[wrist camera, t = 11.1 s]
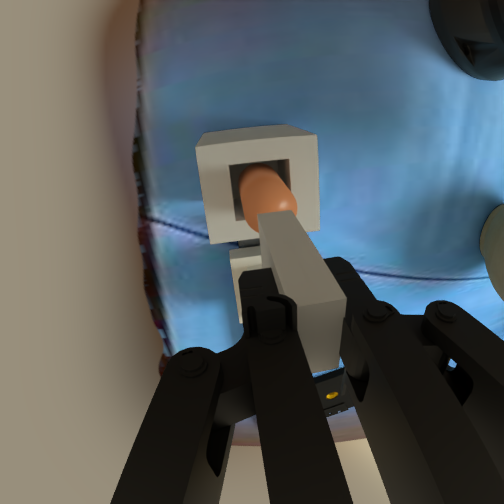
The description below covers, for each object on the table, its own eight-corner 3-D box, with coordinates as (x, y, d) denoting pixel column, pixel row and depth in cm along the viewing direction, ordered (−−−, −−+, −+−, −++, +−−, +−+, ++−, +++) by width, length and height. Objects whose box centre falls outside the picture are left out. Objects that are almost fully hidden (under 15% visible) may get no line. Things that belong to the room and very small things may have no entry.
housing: (203, 133, 28) (195, 147, 19) (286, 124, 28) (317, 134, 19) (213, 201, 31) (210, 244, 22) (291, 191, 31) (319, 230, 22)
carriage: (229, 249, 31) (234, 321, 21) (288, 242, 31) (318, 308, 22) (238, 312, 35) (246, 388, 25) (290, 304, 35) (314, 378, 25)
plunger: (235, 165, 22) (240, 187, 16) (277, 161, 22) (295, 181, 16) (240, 204, 23) (246, 238, 18) (280, 199, 23) (298, 231, 18)
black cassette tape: (267, 424, 52) (269, 433, 50) (248, 394, 47) (249, 404, 45) (358, 395, 51) (362, 404, 49) (354, 360, 46) (358, 370, 44)
